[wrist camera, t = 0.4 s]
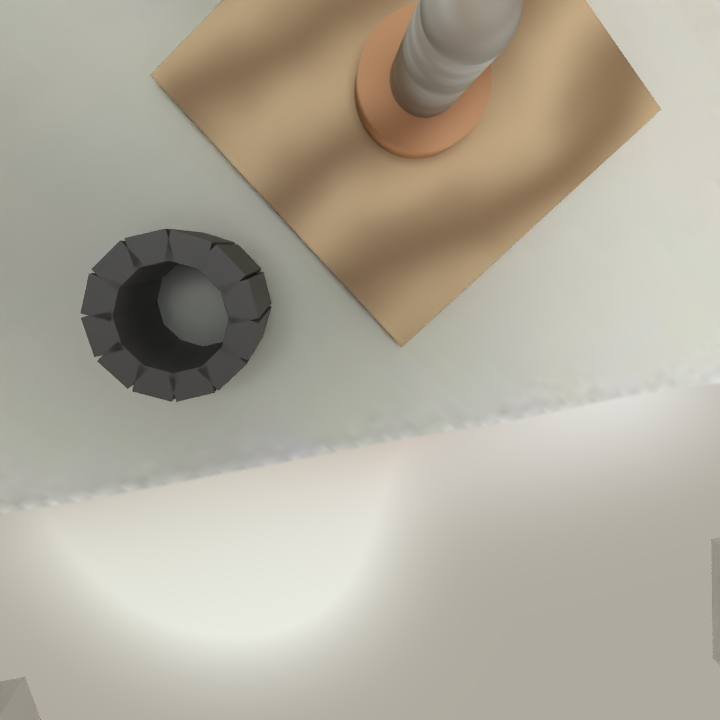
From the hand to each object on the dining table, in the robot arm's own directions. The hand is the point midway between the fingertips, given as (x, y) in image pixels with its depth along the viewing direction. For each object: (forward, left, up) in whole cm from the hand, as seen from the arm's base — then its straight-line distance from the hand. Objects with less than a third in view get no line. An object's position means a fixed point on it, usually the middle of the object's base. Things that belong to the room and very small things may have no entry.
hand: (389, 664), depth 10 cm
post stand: (-9, +14, -24) cm, 29 cm away
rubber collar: (-9, -3, -24) cm, 26 cm away
